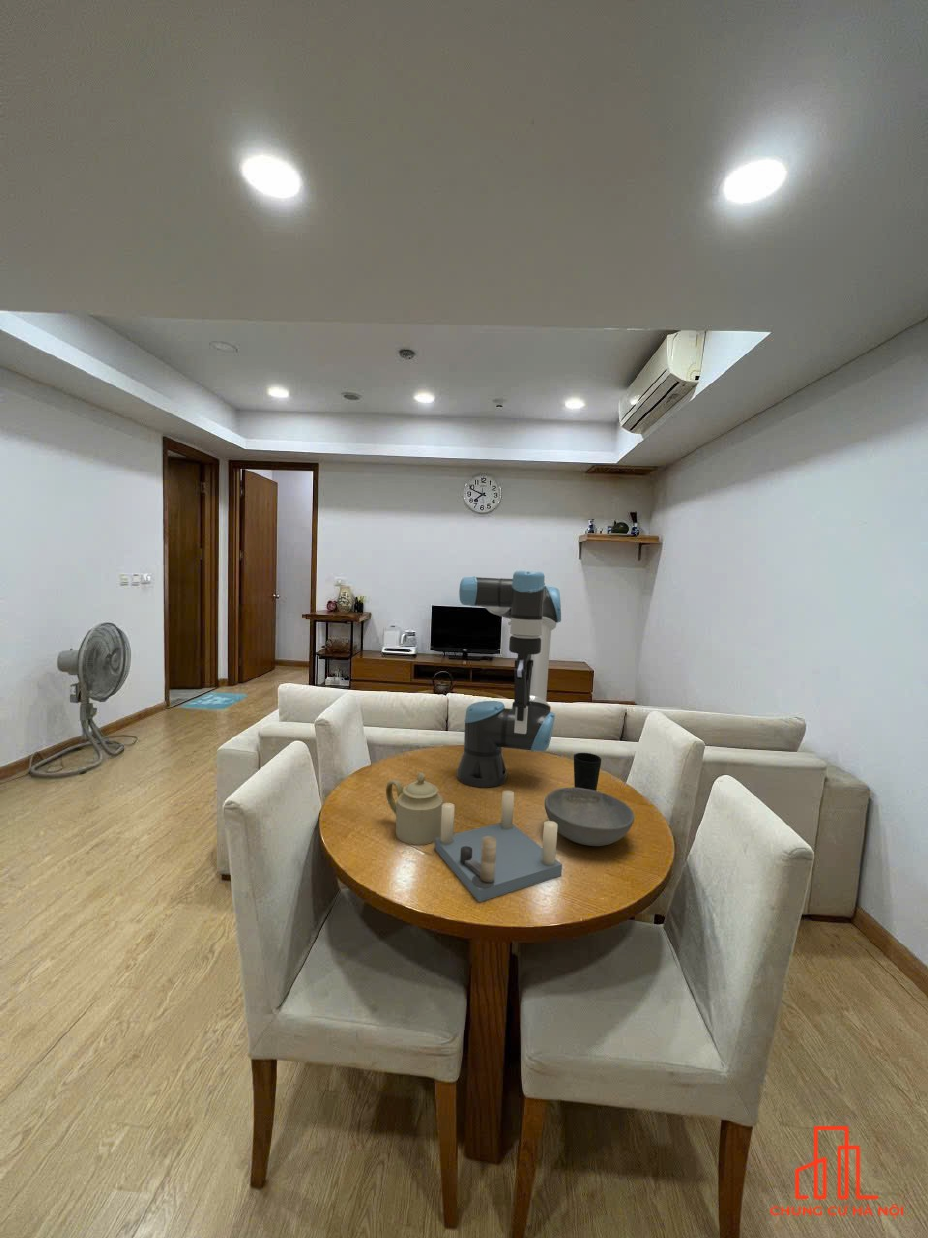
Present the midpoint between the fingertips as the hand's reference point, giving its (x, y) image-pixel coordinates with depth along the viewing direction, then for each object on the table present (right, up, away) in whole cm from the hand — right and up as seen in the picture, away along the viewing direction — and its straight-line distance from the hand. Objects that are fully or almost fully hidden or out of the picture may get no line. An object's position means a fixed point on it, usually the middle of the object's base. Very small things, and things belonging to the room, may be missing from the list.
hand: (520, 732), depth 119 cm
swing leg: (-11, -23, -20) cm, 32 cm away
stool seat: (-7, -25, -12) cm, 29 cm away
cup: (+21, -24, +21) cm, 38 cm away
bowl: (+16, -25, 0) cm, 30 cm away
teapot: (-26, -24, -1) cm, 36 cm away
